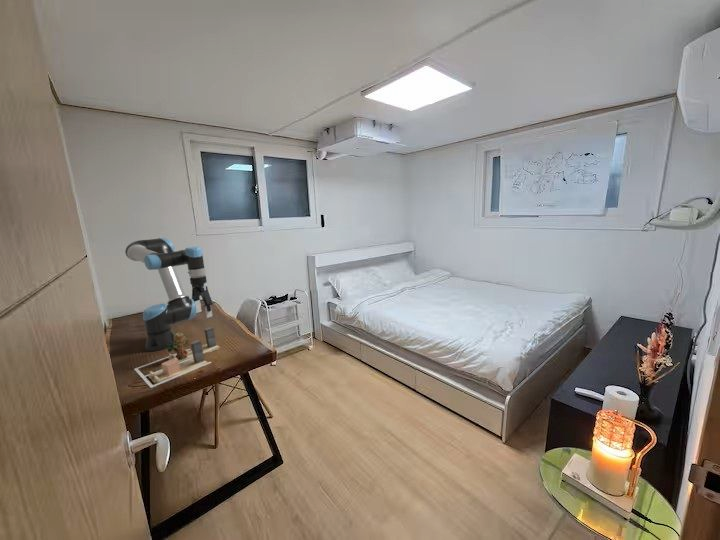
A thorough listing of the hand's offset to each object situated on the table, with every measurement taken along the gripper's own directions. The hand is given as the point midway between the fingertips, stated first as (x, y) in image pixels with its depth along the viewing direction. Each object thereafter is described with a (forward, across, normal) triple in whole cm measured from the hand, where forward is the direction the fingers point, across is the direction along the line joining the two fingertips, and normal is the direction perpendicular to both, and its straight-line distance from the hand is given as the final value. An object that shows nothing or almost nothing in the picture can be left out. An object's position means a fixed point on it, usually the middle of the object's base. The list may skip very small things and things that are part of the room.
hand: (204, 314), depth 157 cm
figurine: (+19, +2, -16) cm, 25 cm away
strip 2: (+19, +14, -20) cm, 31 cm away
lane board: (+19, +8, -20) cm, 29 cm away
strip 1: (+19, +2, -8) cm, 21 cm away
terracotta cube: (+18, +14, -23) cm, 32 cm away
